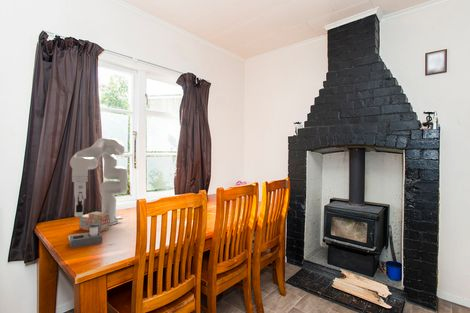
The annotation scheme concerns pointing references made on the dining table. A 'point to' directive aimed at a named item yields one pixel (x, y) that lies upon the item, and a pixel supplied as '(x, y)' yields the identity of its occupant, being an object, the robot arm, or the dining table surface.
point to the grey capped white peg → (93, 229)
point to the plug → (77, 214)
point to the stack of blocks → (94, 221)
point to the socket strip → (84, 240)
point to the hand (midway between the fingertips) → (78, 210)
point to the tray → (73, 235)
